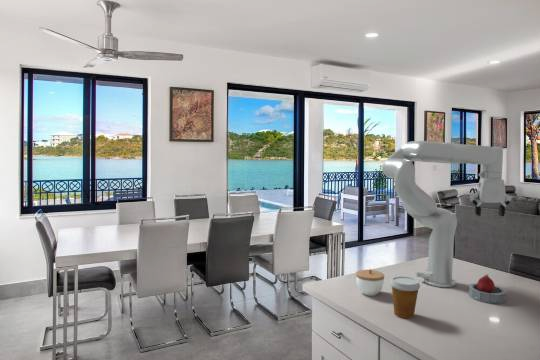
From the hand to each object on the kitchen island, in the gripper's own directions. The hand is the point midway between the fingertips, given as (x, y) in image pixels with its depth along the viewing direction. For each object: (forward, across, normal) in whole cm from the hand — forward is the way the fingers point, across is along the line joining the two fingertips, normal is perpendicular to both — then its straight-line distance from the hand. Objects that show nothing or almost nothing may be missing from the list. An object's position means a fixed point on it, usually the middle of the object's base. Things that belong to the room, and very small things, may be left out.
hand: (489, 215), depth 170 cm
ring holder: (+28, -10, -22) cm, 37 cm away
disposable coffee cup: (+28, -46, -41) cm, 68 cm away
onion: (+28, -10, -22) cm, 37 cm away
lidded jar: (+29, -54, -21) cm, 65 cm away
